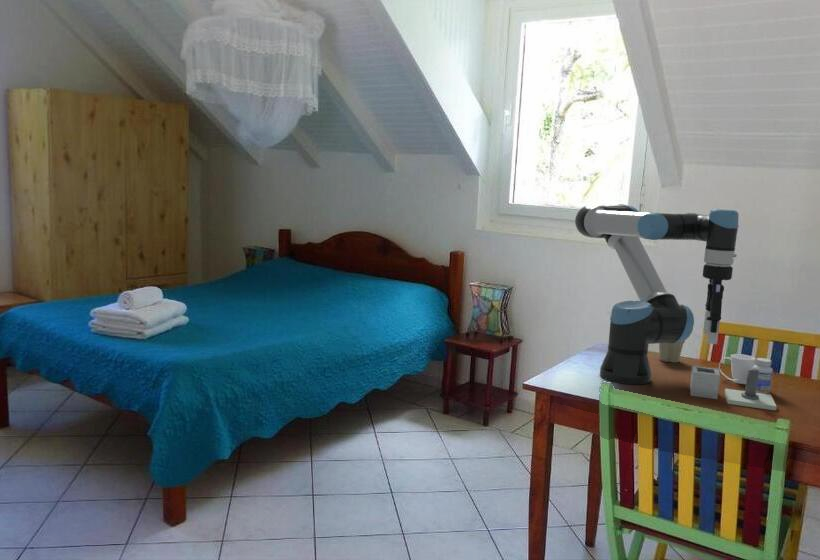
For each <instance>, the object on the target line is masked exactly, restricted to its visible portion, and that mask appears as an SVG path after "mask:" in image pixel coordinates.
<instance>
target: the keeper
mask: <svg viewBox="0 0 820 560" xmlns="http://www.w3.org/2000/svg"><path fill="white" fill-rule="evenodd" d="M758 374H759V370H757V369H753V368H748V371H747V379H746V384H745V389H744V390H739V389H731V388H724V395H725V399H726V402H727V404H728V405H735V406H739V407H740V406H741V407H748V408H755V409H756V408H757V409H762V410H763V409H764V410H768V411H777V405H776V403H775V400H774V399H773V396H772V394H770V393H767V394H762V393H756V390H757V382H758Z"/></svg>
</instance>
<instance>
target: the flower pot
mask: <svg viewBox="0 0 820 560" xmlns="http://www.w3.org/2000/svg"><path fill="white" fill-rule="evenodd" d="M685 342H686V340H684V341H682V342H676V343H658V346H659V347H658V349H659V351H658V352H659V353H658V354H659V358H658V359H659V360H660V361H662V362H666V363H668V362H670V363H673V364H675V363H678V362H679V361H680V357H681V353H682V350H683V345H684V343H685Z"/></svg>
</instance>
